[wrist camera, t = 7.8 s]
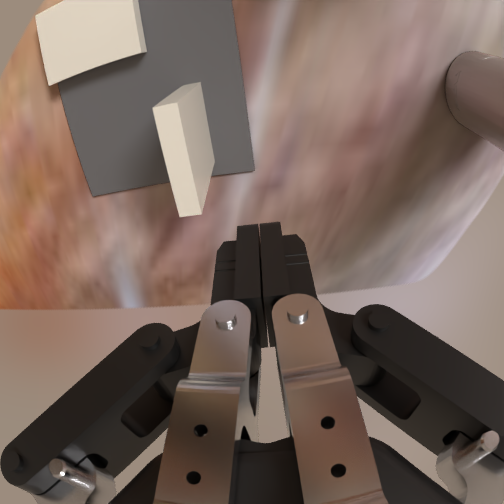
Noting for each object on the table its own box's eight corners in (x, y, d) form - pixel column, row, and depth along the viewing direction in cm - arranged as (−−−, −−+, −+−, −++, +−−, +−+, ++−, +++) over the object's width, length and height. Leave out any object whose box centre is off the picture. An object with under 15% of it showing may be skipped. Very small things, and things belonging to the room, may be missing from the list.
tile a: (128, -26, 17) (35, 15, 17) (141, 52, 21) (48, 86, 22) (135, -23, 18) (44, 15, 19) (147, 51, 23) (57, 82, 23)
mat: (224, -47, 17) (224, -48, 17) (254, 169, 31) (254, 170, 31) (46, 11, 19) (44, 11, 18) (94, 194, 32) (92, 196, 32)
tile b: (200, 82, 25) (177, 102, 17) (214, 161, 30) (201, 214, 22) (181, 85, 25) (150, 108, 17) (197, 163, 30) (177, 217, 22)
